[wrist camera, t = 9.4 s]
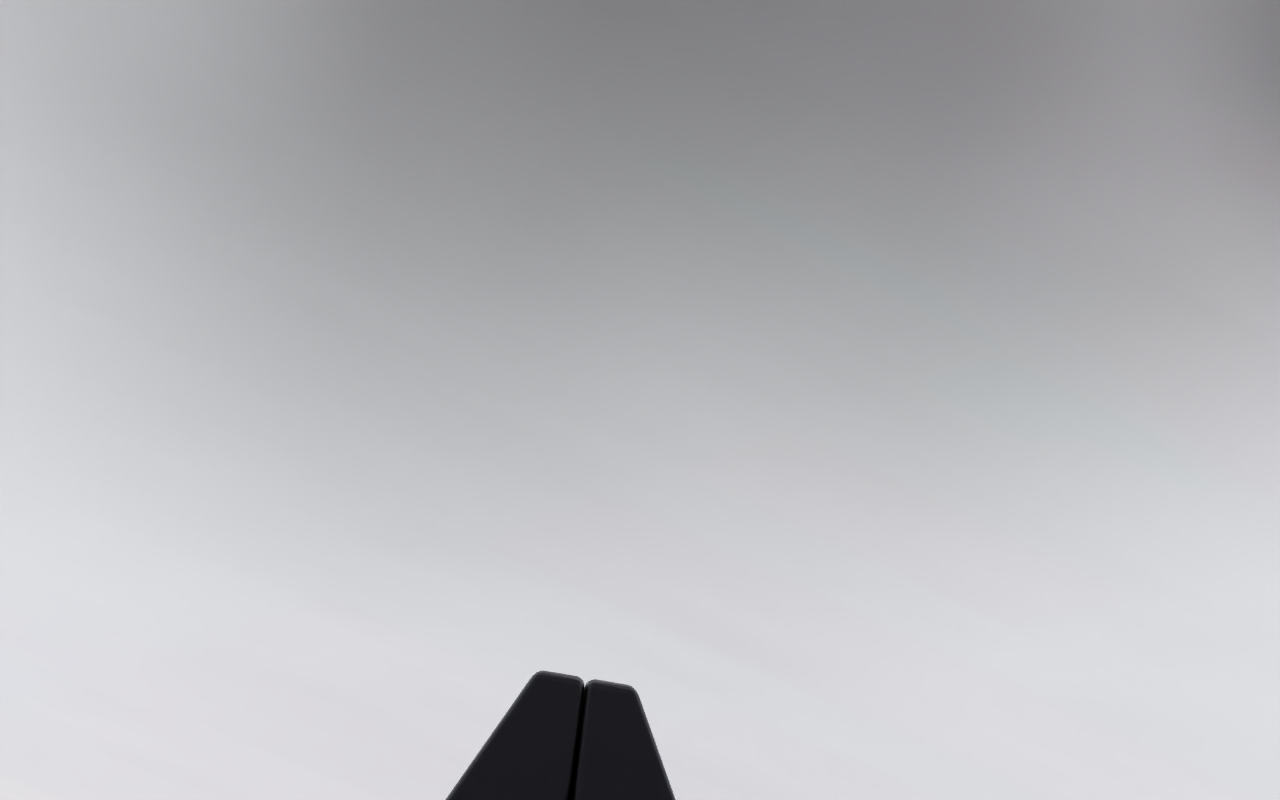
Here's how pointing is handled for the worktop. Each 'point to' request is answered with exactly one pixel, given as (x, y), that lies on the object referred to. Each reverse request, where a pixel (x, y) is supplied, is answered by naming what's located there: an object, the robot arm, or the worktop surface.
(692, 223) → the worktop surface
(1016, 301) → the worktop surface
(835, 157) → the worktop surface
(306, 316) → the worktop surface
